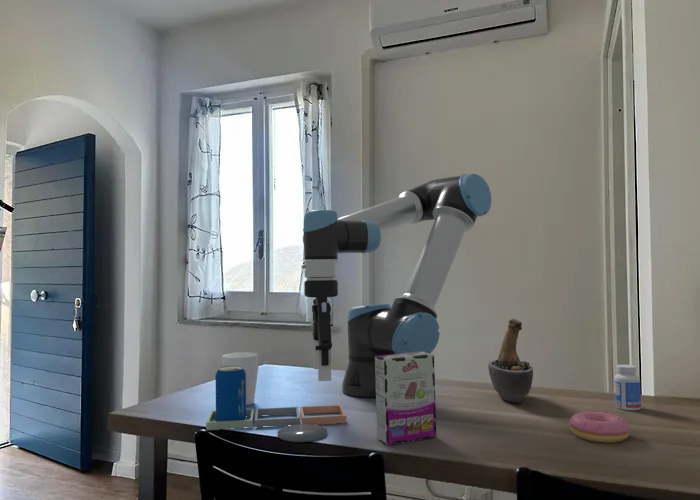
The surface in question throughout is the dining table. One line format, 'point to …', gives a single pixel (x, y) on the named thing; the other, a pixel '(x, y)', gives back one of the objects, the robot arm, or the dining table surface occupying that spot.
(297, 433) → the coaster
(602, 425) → the doughnut
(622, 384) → the pill bottle
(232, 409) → the beverage can
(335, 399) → the dining table surface
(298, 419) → the slate-grey corral
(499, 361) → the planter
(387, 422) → the candy bar box
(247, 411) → the sage corral
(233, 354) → the grey tapered cylinder
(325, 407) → the terracotta corral
